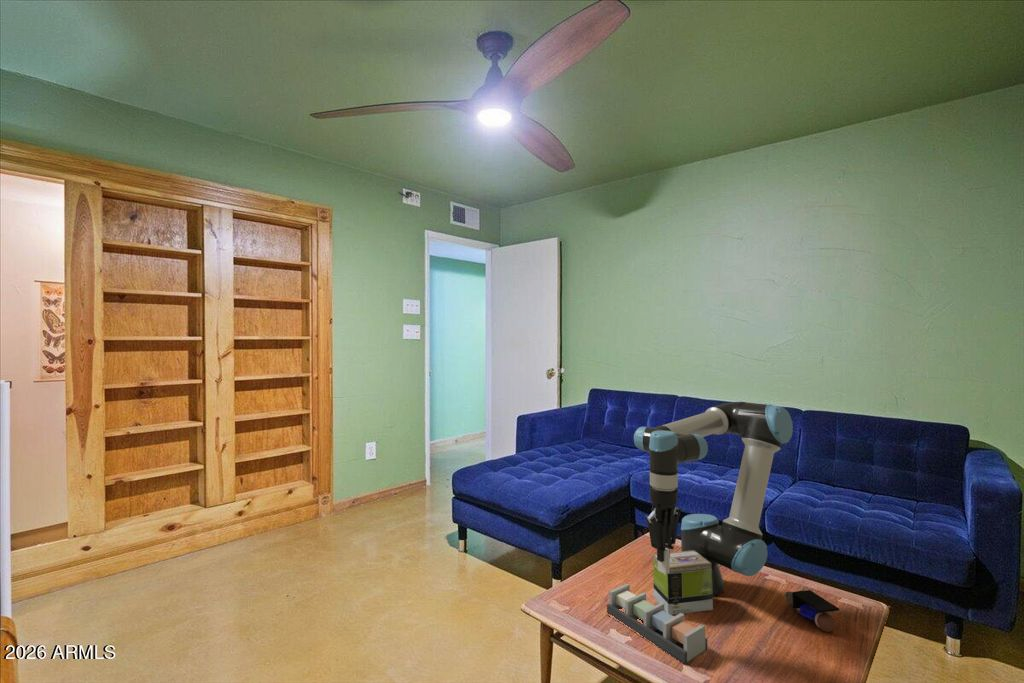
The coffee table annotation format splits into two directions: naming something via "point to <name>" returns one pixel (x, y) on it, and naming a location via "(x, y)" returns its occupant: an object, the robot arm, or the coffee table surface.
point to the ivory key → (623, 598)
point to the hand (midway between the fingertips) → (663, 571)
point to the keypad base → (682, 652)
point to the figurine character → (813, 608)
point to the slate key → (660, 619)
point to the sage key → (641, 608)
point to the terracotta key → (680, 631)
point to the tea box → (684, 583)
